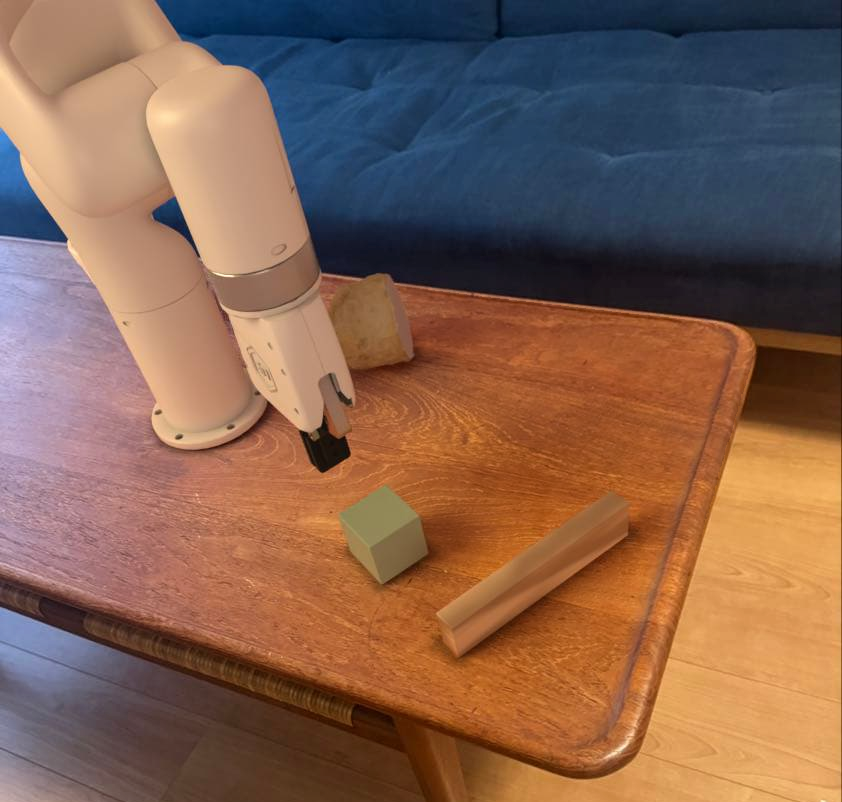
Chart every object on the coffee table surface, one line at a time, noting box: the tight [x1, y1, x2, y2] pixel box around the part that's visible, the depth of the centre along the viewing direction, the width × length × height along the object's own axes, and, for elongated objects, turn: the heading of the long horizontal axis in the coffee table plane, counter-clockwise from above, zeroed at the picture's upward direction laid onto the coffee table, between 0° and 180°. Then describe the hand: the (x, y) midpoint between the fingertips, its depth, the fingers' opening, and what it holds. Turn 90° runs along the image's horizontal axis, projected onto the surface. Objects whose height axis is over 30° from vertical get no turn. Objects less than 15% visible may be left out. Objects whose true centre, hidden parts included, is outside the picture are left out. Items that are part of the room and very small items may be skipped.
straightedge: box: [435, 489, 631, 658], centre depth 65 cm, size 2×18×4 cm, turn 126°
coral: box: [328, 272, 415, 370], centre depth 86 cm, size 10×10×10 cm
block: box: [337, 484, 430, 586], centre depth 69 cm, size 5×5×5 cm
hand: (331, 460), depth 70 cm, fingers closed
